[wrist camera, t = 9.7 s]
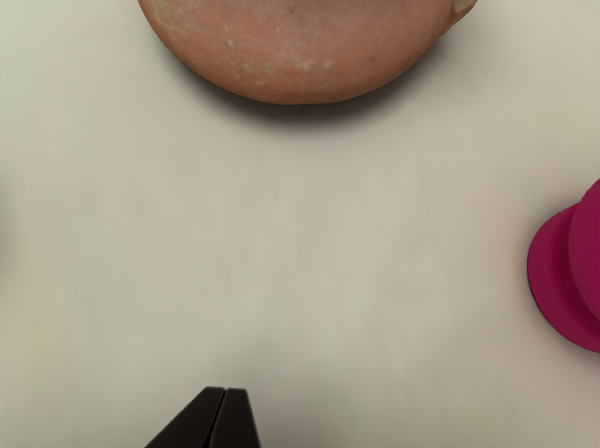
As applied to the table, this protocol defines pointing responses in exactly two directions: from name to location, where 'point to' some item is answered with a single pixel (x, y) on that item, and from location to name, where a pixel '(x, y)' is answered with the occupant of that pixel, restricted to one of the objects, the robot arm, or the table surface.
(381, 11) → the ceramic jug
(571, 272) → the pepper mill
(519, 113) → the table surface
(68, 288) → the table surface
